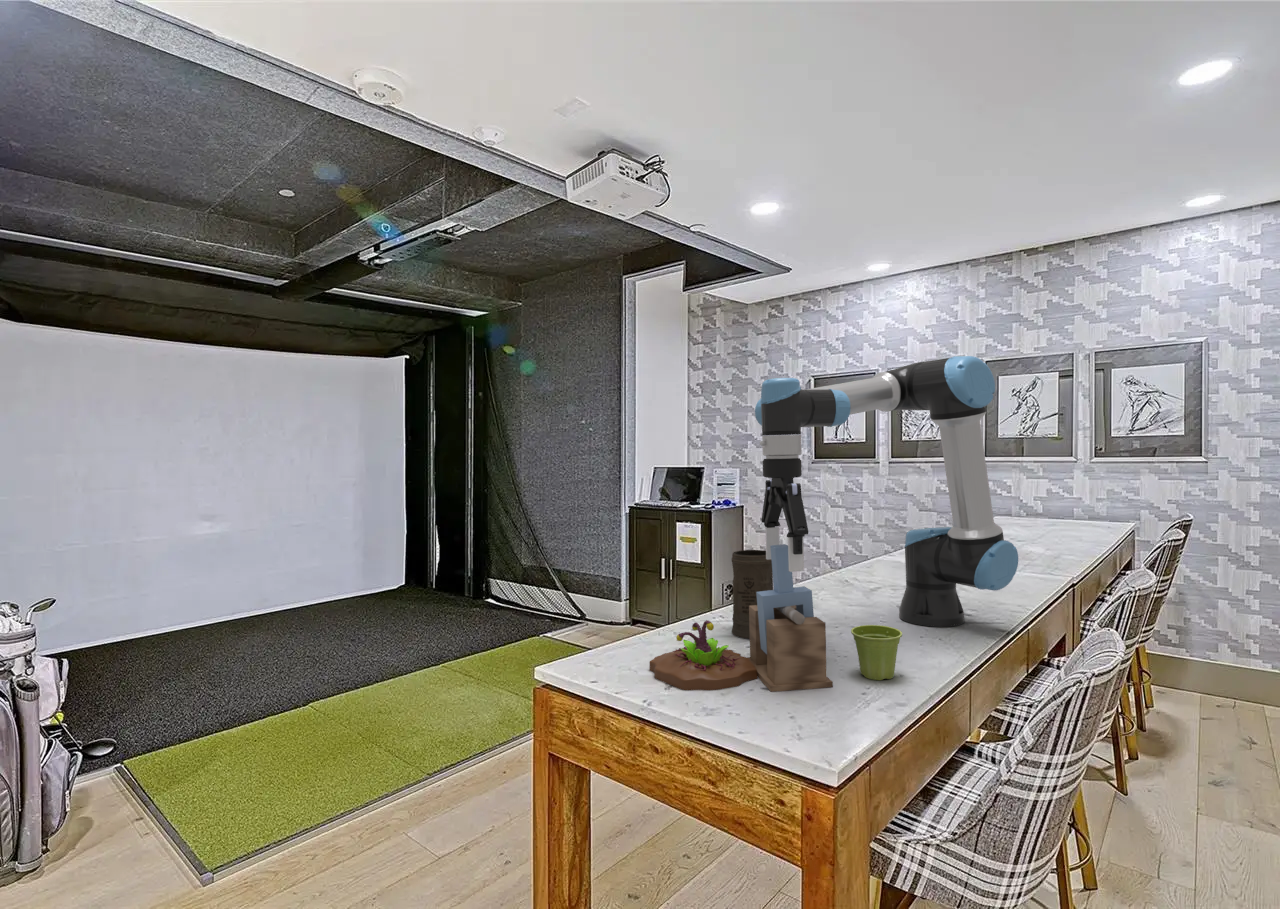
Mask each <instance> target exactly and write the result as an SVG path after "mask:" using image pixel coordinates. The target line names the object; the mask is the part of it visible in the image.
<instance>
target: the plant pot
mask: <svg viewBox="0 0 1280 909" xmlns="http://www.w3.org/2000/svg"><path fill="white" fill-rule="evenodd" d="M850 632H851V634H852V635H853V640H854V642H855V646H856V651H857V652H856V653H857V657H858V658H857V659H858V663H859V664H858V665H859V670H860V674H861V675H862V676H864V678H867V679H869V680H874V681H883V680H884V679H885V680H886V679H887V680H891V679H893V678H894V677H895V671H896V670H895V669H896V662H897V653H898V646H899V644H900V640H901V638H902V636H903V632H902V631H901V630H900V629H899V628H898V629H897V628H895V627H891V626H887V625H881V624H880V625H878V624H864V625H863V624H862V625H858V626H855V627H853V628H851V629H850Z"/></svg>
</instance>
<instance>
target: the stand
mask: <svg viewBox="0 0 1280 909" xmlns="http://www.w3.org/2000/svg"><path fill="white" fill-rule="evenodd" d="M773 609H774V619H772V620H766V634H767V654H766V653H765V652H764V651H763V650H762V649H761V644H760V632H759V619H758V607H757V605H752V606H749V632H750V639H749V656H747V657H746V658H748V659H749V661H750V662H751V663H752V664H753V665H754V666H755V668H756V669H757V678H758V679H759V680H760V681H761V683H762V684H763V685H764V686H765V687H766V688H767V689H768V690H769V692H771V693H772V692H786V691H796V690H797V691H798V690H799V691H801V690H811V689H824V688H825V689H827V688H833V687H834V683H833V682H834V681H833V680H831V678H829V677H828V676H827V644H826V643H827V636H826V635H827V634H826V633H827V632H826V631H827V630H826V622H825V621H823V620H822V619H820V618H819V617H817V616H814V617H804V615H802V614H801V613H799V612H798V611H797V610H796V605H794V606H785V607H777V608H773Z"/></svg>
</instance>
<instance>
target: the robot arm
mask: <svg viewBox="0 0 1280 909" xmlns="http://www.w3.org/2000/svg"><path fill="white" fill-rule="evenodd" d="M995 392H996V383H995V377H994V375H993V372H992V370H991V369H990V367H989V366H988V365H987V363H986V362H984V361H983V360H982V359H981V358H979V357H977V356H973V355H962V356H959V355H957V356H951V357H945V358H939V359H933V360H927V361H918V362H914V363H911V364H910V363H909V364H907V365H904V366H901V367H898V368H894V369H889V370H885V371H881V372H878V373H876V374H875V375H873V377H870V378H864V379H858V380H854V381H846V382H843V383H836V384H830V385H824V386H818V387H812V388H808V389H807V388H806V389H803V388H802V387H801V382H800V380H799V378H795V377H794V378H793V377H777V378H769V379H765V380H764V381H763V382H762V383H761V390H760V399H758V401H757V402H756V404H755V408H754V416H755V419H756V421H757V423H758V424H759V426H761V437H762V438H761V439H762V440H759V445H760V446H761V447H762V456H765V458H763V460H762V476H763V477H764V478H767V479H766V480H765V492H764V498H763V500H764V501H763V507H762V513H761V523H762V524H764V529H765V551H766V559H767V560H768V559H771V547H770V546H772V545H781V542H780V527H781V522H780V517H781V513H782V511H783V514H784V515H783V516H784V518H785V522H786V525H787V528H788V529H787V530H788V532H787V533H786V538H787V545H788V561H789V572H792V573H795V572H804V571H805V557H804V556H805V555H804V554H805V553H804V552H805V551H804V537H805V535H808V534H809V528H808V522H807V518H806V512H805V508H804V507H805V506H804V501H803V496H802V485H801V483H795V481H794V478H801V476H802V470H803V469H802V459H801V458H800V457H799V456H801V455H802V453H803V452H802V448H803V447H802V428H814V427H815V428H817V427H826V428H827V427H828V428H831V427H839V426H841V425H844V424H845V423H846V422H847V420H848V419H849V417H850V416H851V415H854V414H855V415H856V414H861V413H866V412H871V411H876V410H879V411H881V412H884V413H886V412H887V413H888V412H894V411H929V415H930V421H931V422H932V423H934V424H936V426H938V428H939V436H940V441H941V442H940V443H941V448H942V450H941V451H942V456H943V462H944V468H945V469H944V471H945V476H946V484H947V489H948V498H949V504H950V510H951V516H952V517H951V518H952V526H951V527H950V526H947V527H945V526H944V527H928V528H927V527H925V528H917V529H916V528H915V529H911V530H909V531H907V533H906V535H905V544H904V558H905V561H904V562H905V590H904V593H903V596H902V599H901V602H900V605H899V609H898V612H899V614H898V615H899V616H898V617H899V619H900V620H901V621H904V622H905V623H909V624H913V625H918V626H919V625H920V626H924V627H926V626H927V627H933V628H934V627H937V628H939V627H940V628H941V627H943V628H944V627H946V628H947V627H956V626H960V625H963V624H965V612H964V608H963V606H962V603H961V600H960V597H959V594H958V592H957V584H958V585H961V586H967V587H970V588H971V587H972V588H974V589H975V588H976V589H978V590H988V591H1000V590H1002V589H1004V588H1006V587H1008V585H1009V584H1010V583H1011V582H1012V581H1013V578H1014V576H1015V575H1016V572H1017V570H1018V567H1019V552H1018V549H1017V547H1016V546H1015V545H1014V544H1013V543H1012V542H1010V541H1009V540H1007V539H1005V538H1004V537H1005V536H1004V532H1003V531H1004V530H1003V528H1002V527H1001V526H1000V525H998V524H996V523H995V520H994V512H993V505H992V499H991V498H992V497H991V492H990V485H989V484H990V483H989V475H988V470H987V463H986V462H987V461H986V455H985V448H984V439H983V433H982V427H981V426H982V425H981V420H982V419H983V417H984V416H985V415H986V414H987V408H986V406H988V405H989V404H990V403H991V402H992V401H993V399H994V394H996V393H995Z"/></svg>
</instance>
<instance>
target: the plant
mask: <svg viewBox="0 0 1280 909" xmlns="http://www.w3.org/2000/svg"><path fill="white" fill-rule="evenodd" d="M691 628H692V630H693V631H696V632H697V631H698V636H696V635H695V634H693V633H692V632H689V631H688V632H687V631H685V632H681V633H678V634H677V635H676V641H677V642H683V646H684V647H682V648H681V647H678V649H677V648H676V649H675V650H672V651H670V652H665V653H663V654H660V655H657V656H655V657H654V658H652V659H651V660H649V671H650V672H653V673H654V678H655V680H658V681H661V682H663V683H665V684H666V685H667V684H668V685H671V686H673V687H675V688H677V689H680V690H682V691H716V690H717V691H718V690H724V689H730V688H737V687H739V686H741V685H742V684H744V683H746V682H750V681H753V680H758V679H759V678H758V677H757V669H756V668H755V666H754V665H753V664H752V663H751V662H750V661H749V659H748V658H747V657H746V656H742V655H741V653H738V652H734V651H733V650H732V649H728V648H729V644H725V645H722V646H721V647H720V646H718V644H719V640H718V639H716V640H715V638H714V637H710V638H708V637H707V630H708V631H713V630H714V629H715V627H714V624H713V622H712V621H710V620H709V619H708V620H707V619H706V620H705V621H704V622H703V624H702V626H701V625H700V624H699V623H698V622H693V624H692V626H691ZM684 636H689V637H690V638H692V639H693V642H692V641H690V640H687V639H684ZM707 638H708V639H707Z"/></svg>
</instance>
